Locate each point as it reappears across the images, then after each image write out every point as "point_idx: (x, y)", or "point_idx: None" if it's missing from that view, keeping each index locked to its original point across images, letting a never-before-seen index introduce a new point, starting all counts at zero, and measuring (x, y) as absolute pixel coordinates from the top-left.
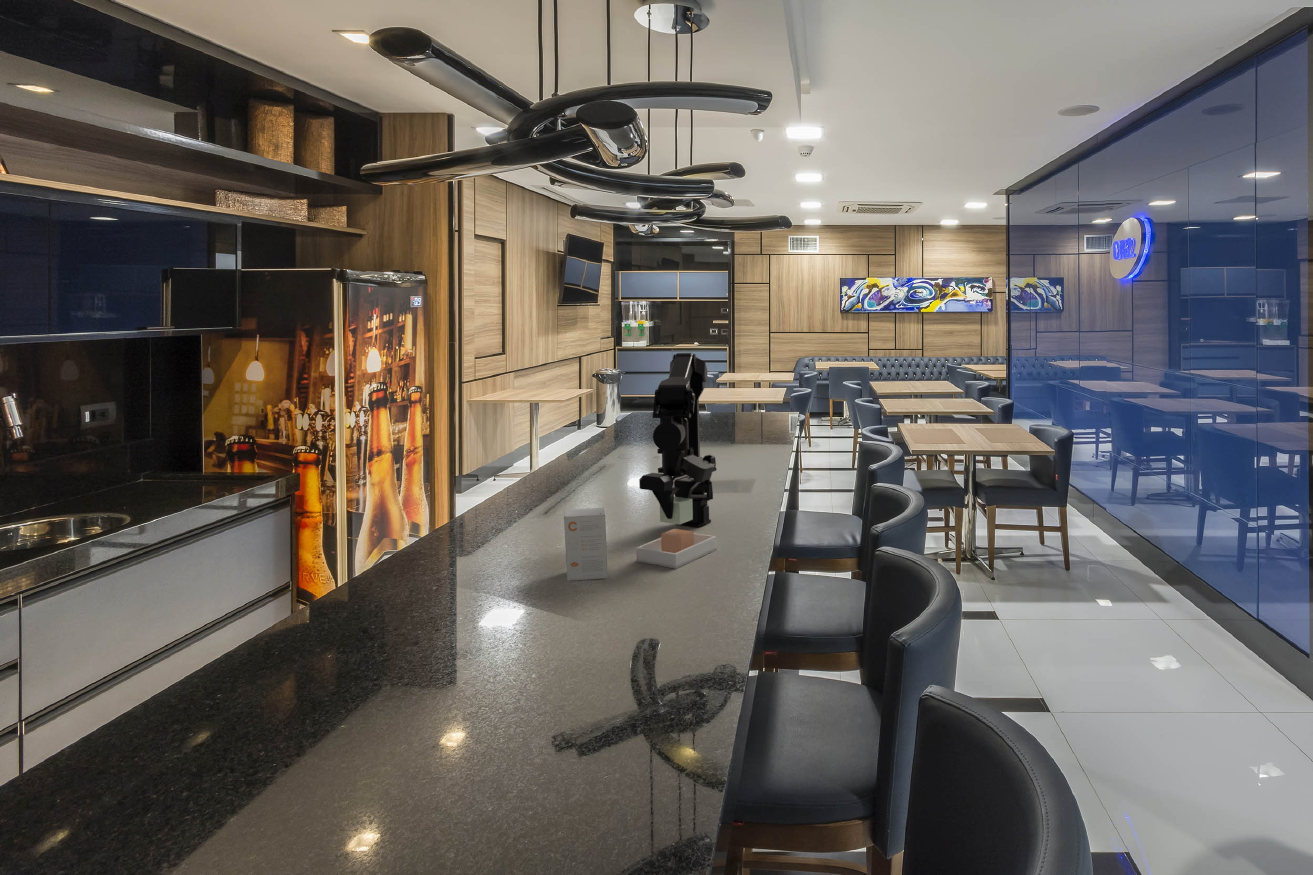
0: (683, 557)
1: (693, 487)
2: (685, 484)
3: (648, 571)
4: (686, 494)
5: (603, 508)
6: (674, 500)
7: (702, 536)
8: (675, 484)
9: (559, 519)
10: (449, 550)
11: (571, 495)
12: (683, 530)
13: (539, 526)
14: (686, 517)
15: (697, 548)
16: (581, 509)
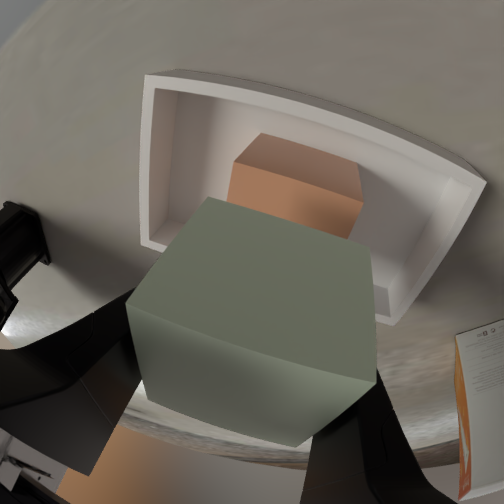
0: (431, 147)
1: (21, 365)
2: (62, 436)
3: (484, 241)
4: (107, 364)
5: (484, 487)
6: (256, 407)
7: (154, 138)
8: (95, 452)
9: (150, 405)
10: None
11: None
12: None
13: (193, 421)
14: (280, 238)
15: (320, 105)
16: (472, 495)
